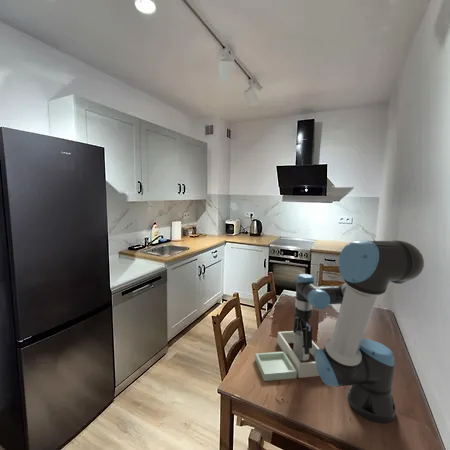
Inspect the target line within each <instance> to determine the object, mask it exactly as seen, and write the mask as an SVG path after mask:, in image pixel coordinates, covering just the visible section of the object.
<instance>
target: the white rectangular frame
mask: <svg viewBox="0 0 450 450" xmlns="http://www.w3.org/2000/svg"><path fill="white" fill-rule="evenodd" d="M294 334H295V332H293V330H290V331H277V345H278V346H279V348H280V349H281V352H283V351H285V353H286V355H287V356H288V358H289V359H290V361H291V363H292V364H293V366H294V367H295V369H296V371H297V378H310V377H311V378H312V377H320V375H319V373H318V370H317V367H316V362H315V361H303V362H302V361H299V359H298V358H297V356H296V355H295V353H294V352H293V349H292V347H291V346H290V344H294ZM317 349H320V348H319V347H318V345H317V344H316V343H315V342H314V340H312V348H310V354H311V355H312V357H313V358H314V359H315V352H316V350H317Z"/></svg>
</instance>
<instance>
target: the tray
mask: <svg viewBox="0 0 450 450" xmlns="http://www.w3.org/2000/svg"><path fill="white" fill-rule="evenodd" d="M254 356H255V358H254V359H255V363H256V365H257V368H258V369H259V372H260V375H261V377H262V379H263V381H264V382H269V381H278V380H289V379H292V380H293V379H297V378H298V376H297V371H296V369H295V367H294V366H293V364H292V363H291V361H290V359H289V358H288V356H287V355H286V353H285V351H274V352H273V351H272V352H261V353H255V355H254Z"/></svg>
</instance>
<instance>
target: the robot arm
mask: <svg viewBox="0 0 450 450" xmlns="http://www.w3.org/2000/svg"><path fill="white" fill-rule="evenodd" d="M339 253H340V254H339V256H338V265H339V267H338V270H339V273H340V276H341V277H342V280H343V282H344V283H343V284H342V283H341V284H340V285H327V286H326V285H321V286H318V285H317V284H316V283H315V278H314V276H313V275H312V274H308V273H299V274H297V276H296V285H295V287H296V288H295V300H294V301H295V303H294V305H295V306H294V308H295V309H294V320H293V330H292V331H293V332H295V333H296V331H299V330H301V331H302V334H303V343H304V346H302V347H303V351H302V360H307V361H309V359H308V357H309V348H312V341H313V326H312V325H310V319H311V318H313V307H315V308H316V309H317V310H324V309H325V308H327V307H328V306H330V305H340V308H339V311H338V314H337V315H338V316H337V319H336V322H335V325H334V329H333V333H332V336H331V337H329V338H327V339H326V341H325V344H324V347H323V348H319V349H317V350H316V352H315V358H314V362H316V367H317V370H318V373H319V375H320V376H319V377H320V379H321V381H322V382H323V383H324V384H325V385H326V386H327V387H337V388H338V387H344V386H345V387H347V386H350V387H349V389H348V392H347V401H348V404H349V405H350V407H351V408H352V409H353V410H354V411H355V413H358V415H360V416H362V417H363V418H365V419H367V420H369V421H372V422H375V423H379V424H383V423H384V424H385V423H386V424H387V423H390V422H392V421H393V420H394V419H395V417H396V410H397V408H396V404H395V401H394V397H393V392H392V386H393V379H394V378H393V377H394V369H395V355H394V353H393V352H392V350H391V349H390V348H389V347H388V346H385V345H384V344H383V343H381V342H378V341H375V340H372V339H368V338H364V336H365V333H366V330H367V328H368V325H369V322H370V318H371V315H372V313H373V310H374V306H375V304H376V301H377V298H378V296H381V295H384V294H385V293H386V292H387V288H388V287H389V286H391V285H393V284H396V285H400V284H404V283H407V282H409V281H411V280H414V279H415V278H417V277H419V276H420V275H421V273H422V271H423V270H424V266H425V260H424V257H423V254H422V253H421V251H420V250H419V249H418V248H417V247H416V246H415V245H414V244H412V243H409V242H407V241H403V240H368V239H367V240H366V239H365V240H363V239H362V240H358V241H352V242H349V243H347V244H346V245H345V246H344V247H343V248H342V249H341V251H340V252H339ZM309 358H310V357H309Z"/></svg>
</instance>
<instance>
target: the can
mask: <svg viewBox="0 0 450 450" xmlns="http://www.w3.org/2000/svg"><path fill="white" fill-rule="evenodd" d="M302 346H304V343H303V334H302V331H301V330H299V331H296V333H295V334H294V343H293V349H292V351H293V352H294V353H295V355H296V356H297V358H298V359H299V361H300V362H308V360H309V359H310V354H311V353H310V348H309V357H308V360H302V351H303V347H302Z"/></svg>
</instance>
